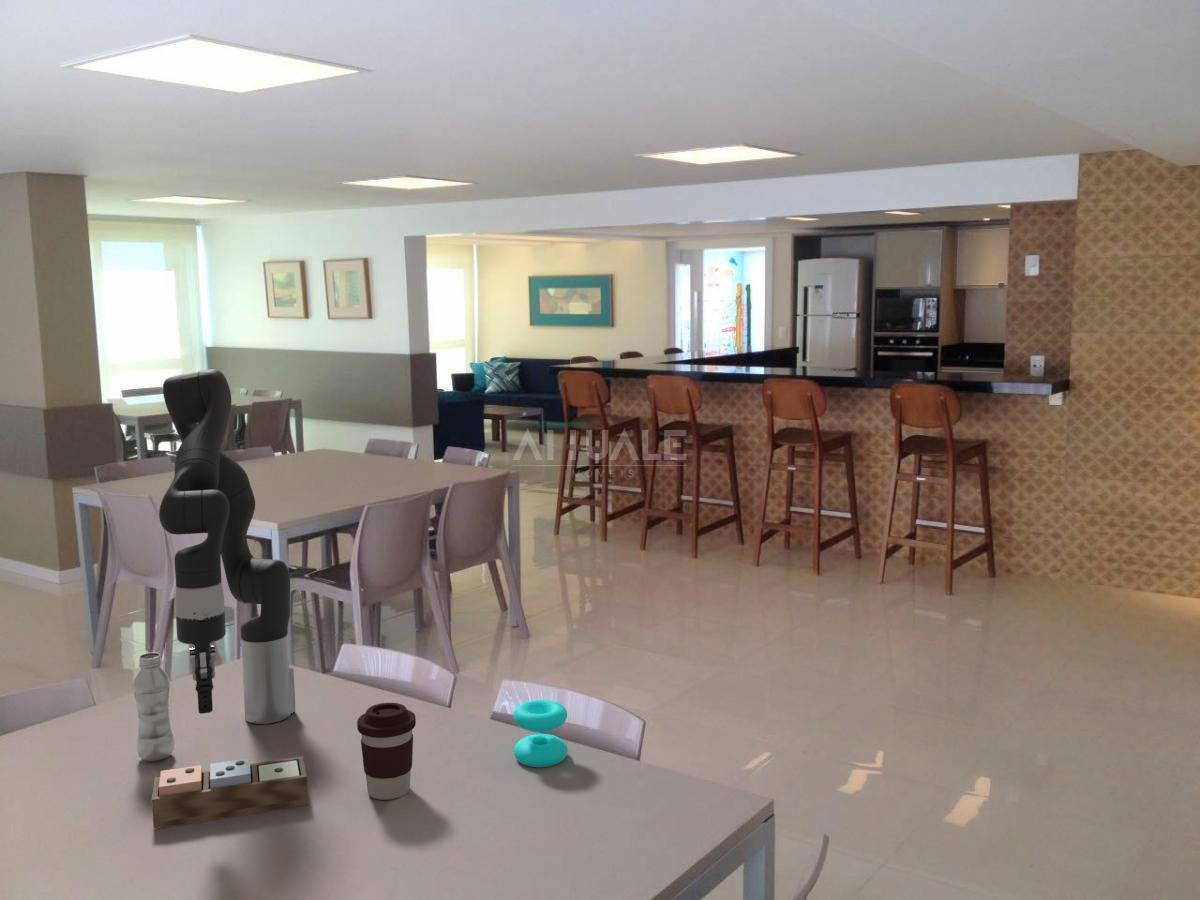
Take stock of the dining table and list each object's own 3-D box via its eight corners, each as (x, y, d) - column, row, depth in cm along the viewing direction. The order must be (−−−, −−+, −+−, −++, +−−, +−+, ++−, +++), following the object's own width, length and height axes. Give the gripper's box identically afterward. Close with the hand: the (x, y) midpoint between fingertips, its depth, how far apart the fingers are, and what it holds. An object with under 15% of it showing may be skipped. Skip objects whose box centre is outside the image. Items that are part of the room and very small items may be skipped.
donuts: (575, 701, 197) (553, 720, 187) (576, 752, 198) (554, 773, 189) (527, 694, 200) (504, 713, 191) (528, 744, 202) (504, 764, 192)
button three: (250, 774, 181) (249, 757, 180) (251, 790, 175) (250, 772, 174) (211, 780, 179) (210, 762, 178) (210, 796, 173) (209, 778, 172)
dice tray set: (303, 783, 185) (302, 756, 185) (307, 804, 177) (306, 776, 177) (156, 805, 177) (154, 777, 177) (153, 828, 169) (151, 799, 169)
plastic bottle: (181, 751, 199) (175, 650, 196) (163, 766, 192) (157, 662, 190) (149, 749, 200) (143, 649, 197) (130, 765, 193) (123, 661, 190)
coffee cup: (428, 785, 184) (426, 703, 182) (395, 809, 175) (392, 724, 173) (382, 774, 189) (380, 695, 186) (347, 798, 180) (344, 714, 178)
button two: (202, 781, 178) (201, 763, 178) (201, 798, 172) (200, 779, 172) (161, 787, 176) (160, 769, 176) (159, 804, 170) (158, 785, 170)
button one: (297, 776, 184) (296, 759, 183) (300, 792, 178) (299, 774, 177) (259, 782, 182) (258, 764, 181) (260, 798, 176) (259, 780, 175)
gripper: (175, 602, 176) (181, 701, 178) (175, 623, 164) (181, 729, 166) (223, 598, 179) (227, 695, 181) (226, 618, 166) (231, 722, 169)
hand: (205, 711), depth 173 cm, fingers closed
